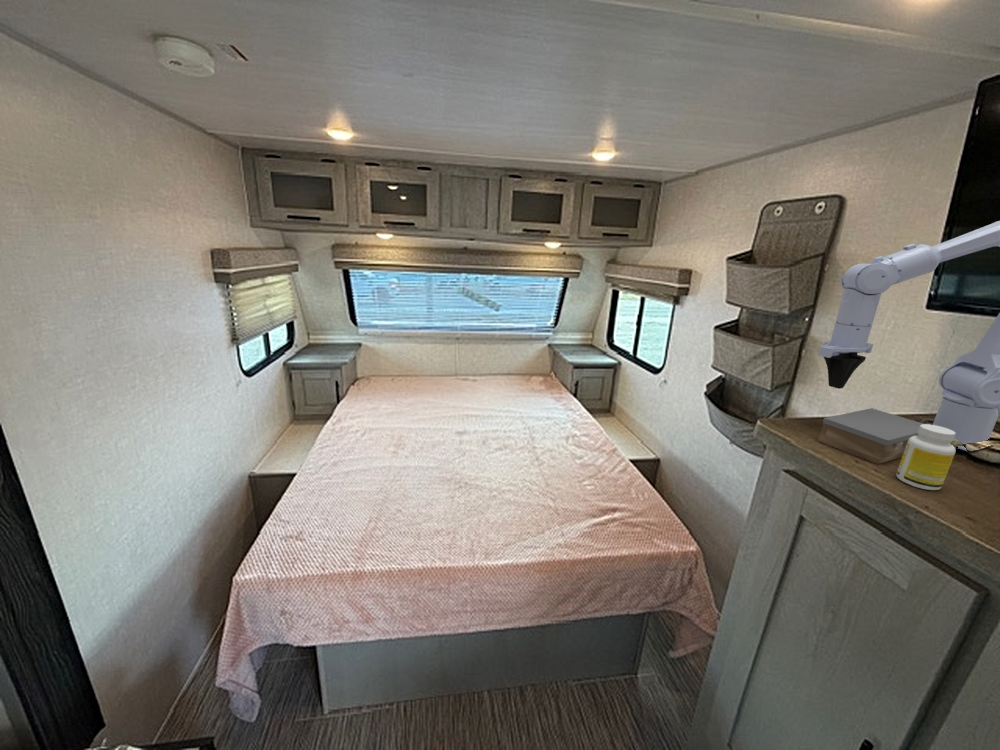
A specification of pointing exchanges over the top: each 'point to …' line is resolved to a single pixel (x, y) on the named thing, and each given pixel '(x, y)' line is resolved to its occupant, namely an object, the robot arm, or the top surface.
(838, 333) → the robot arm
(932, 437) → the supplement bottle
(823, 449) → the top surface
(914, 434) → the lid
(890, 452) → the box
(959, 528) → the top surface
